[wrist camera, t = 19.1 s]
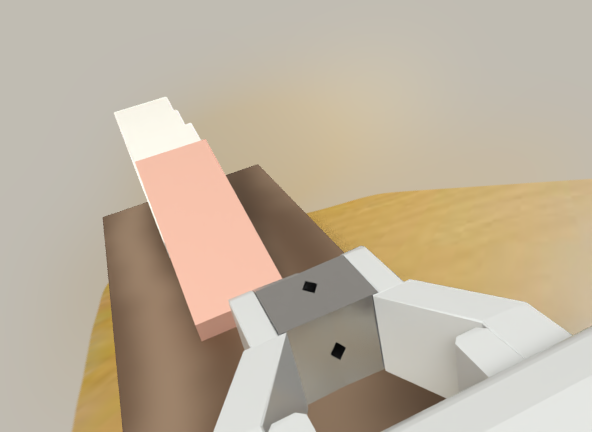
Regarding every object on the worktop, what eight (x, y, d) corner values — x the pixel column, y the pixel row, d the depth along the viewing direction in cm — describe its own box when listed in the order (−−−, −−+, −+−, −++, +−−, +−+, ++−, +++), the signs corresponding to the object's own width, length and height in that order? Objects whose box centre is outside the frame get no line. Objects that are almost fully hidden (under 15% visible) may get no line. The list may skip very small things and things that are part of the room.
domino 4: (289, 304, 28) (209, 156, 37) (287, 287, 27) (205, 138, 36) (201, 341, 27) (141, 179, 36) (195, 325, 25) (134, 161, 34)
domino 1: (219, 202, 40) (170, 110, 49) (215, 188, 39) (166, 96, 48) (157, 225, 39) (119, 126, 48) (152, 211, 38) (113, 112, 47)
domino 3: (238, 231, 36) (181, 124, 45) (234, 216, 35) (177, 109, 44) (169, 257, 35) (125, 142, 44) (163, 242, 34) (119, 127, 42)
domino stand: (281, 255, 51) (257, 164, 46) (545, 613, 22) (554, 468, 17) (143, 309, 48) (102, 217, 43) (239, 810, 19) (147, 699, 14)
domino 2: (263, 262, 32) (195, 139, 41) (260, 245, 31) (191, 122, 40) (186, 293, 31) (133, 159, 40) (180, 277, 30) (127, 143, 38)
